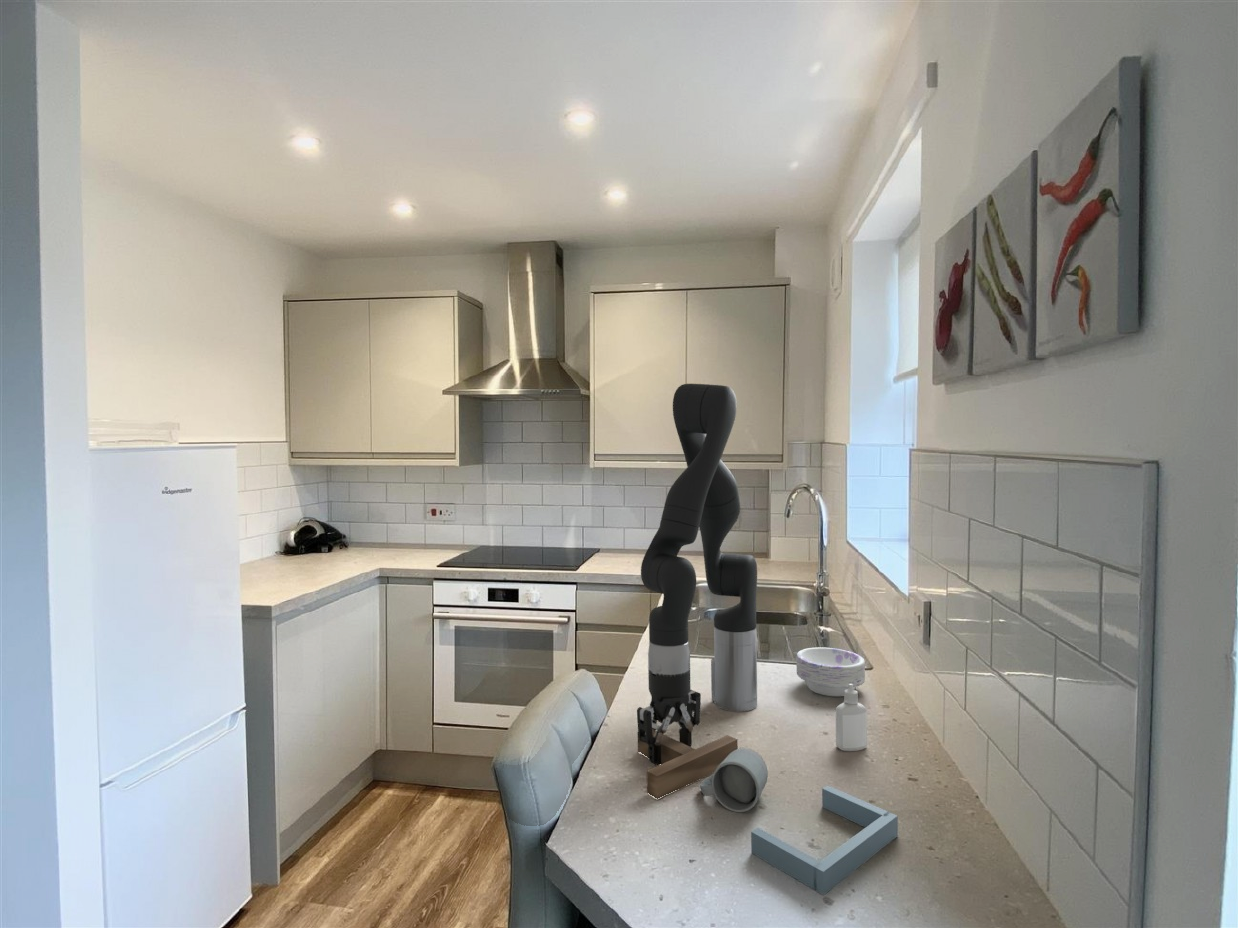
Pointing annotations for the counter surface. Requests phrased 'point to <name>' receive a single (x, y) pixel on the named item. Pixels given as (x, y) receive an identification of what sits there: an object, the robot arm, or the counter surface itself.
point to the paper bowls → (830, 670)
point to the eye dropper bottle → (851, 722)
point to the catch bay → (840, 861)
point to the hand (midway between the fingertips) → (670, 756)
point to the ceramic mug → (737, 780)
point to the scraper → (684, 763)
